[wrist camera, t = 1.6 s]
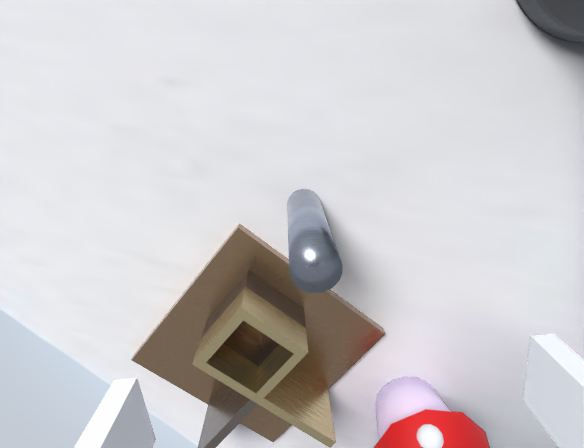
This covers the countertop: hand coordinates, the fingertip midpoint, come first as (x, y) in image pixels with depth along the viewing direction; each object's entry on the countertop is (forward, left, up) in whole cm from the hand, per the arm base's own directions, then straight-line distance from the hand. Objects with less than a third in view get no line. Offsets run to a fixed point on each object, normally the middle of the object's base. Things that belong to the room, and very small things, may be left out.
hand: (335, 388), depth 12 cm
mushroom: (+10, +23, -22) cm, 33 cm away
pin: (0, 0, -22) cm, 22 cm away
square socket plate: (+14, +6, -22) cm, 26 cm away
